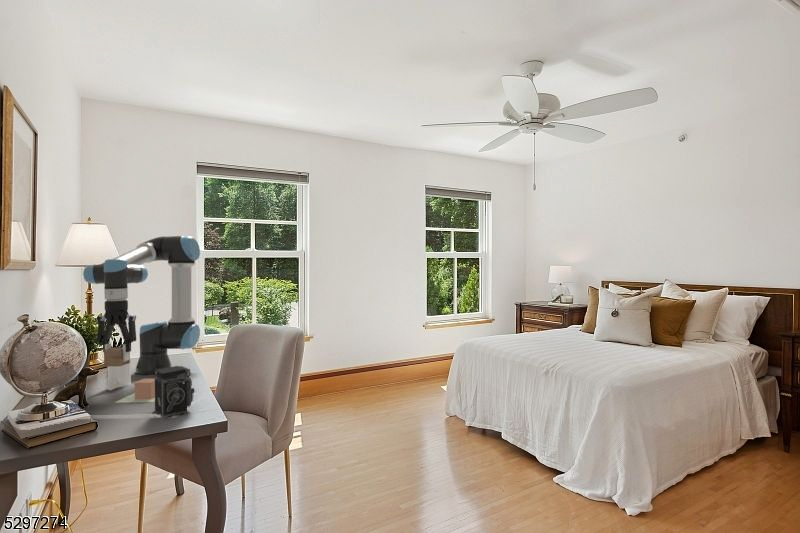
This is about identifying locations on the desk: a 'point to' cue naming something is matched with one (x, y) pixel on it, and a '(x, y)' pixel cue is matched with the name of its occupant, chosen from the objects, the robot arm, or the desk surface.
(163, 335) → the robot arm
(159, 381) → the camera
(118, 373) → the white rectangular block
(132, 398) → the build board
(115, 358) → the walnut brick
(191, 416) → the desk surface
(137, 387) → the terracotta brick
